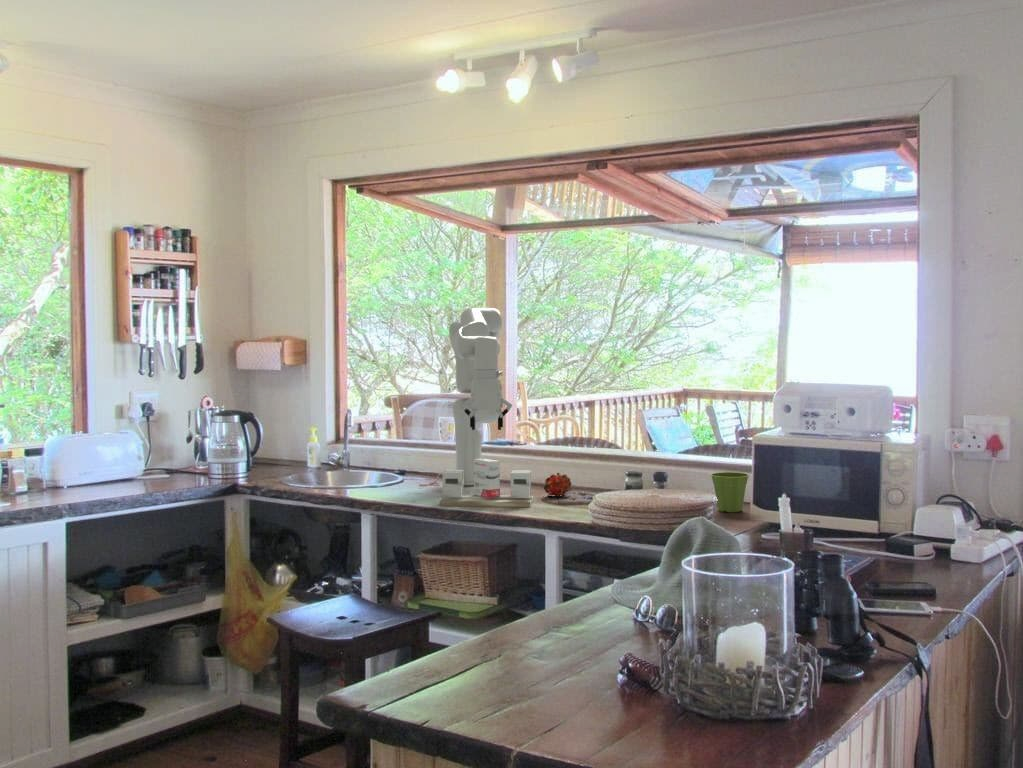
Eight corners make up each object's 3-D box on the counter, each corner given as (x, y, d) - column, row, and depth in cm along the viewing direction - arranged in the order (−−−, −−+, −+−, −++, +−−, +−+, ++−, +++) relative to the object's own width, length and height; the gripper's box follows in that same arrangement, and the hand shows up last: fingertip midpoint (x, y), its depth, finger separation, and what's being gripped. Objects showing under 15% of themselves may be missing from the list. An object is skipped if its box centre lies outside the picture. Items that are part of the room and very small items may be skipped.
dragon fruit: (572, 499, 329) (548, 508, 321) (556, 482, 333) (532, 491, 325) (581, 481, 324) (557, 490, 316) (564, 464, 328) (540, 473, 320)
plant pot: (731, 506, 303) (731, 470, 303) (757, 512, 293) (758, 475, 292) (701, 509, 298) (702, 473, 297) (727, 515, 287) (727, 477, 287)
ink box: (500, 496, 310) (500, 460, 309) (488, 498, 307) (487, 461, 306) (485, 493, 317) (485, 457, 316) (473, 495, 314) (472, 458, 313)
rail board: (445, 499, 319) (445, 468, 318) (533, 500, 316) (533, 469, 316) (439, 505, 307) (439, 473, 306) (530, 506, 304) (530, 474, 304)
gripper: (514, 374, 313) (514, 428, 313) (461, 374, 314) (461, 428, 315) (512, 375, 305) (512, 430, 306) (457, 375, 307) (458, 430, 308)
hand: (486, 429), depth 311 cm, fingers open, 7 cm apart
